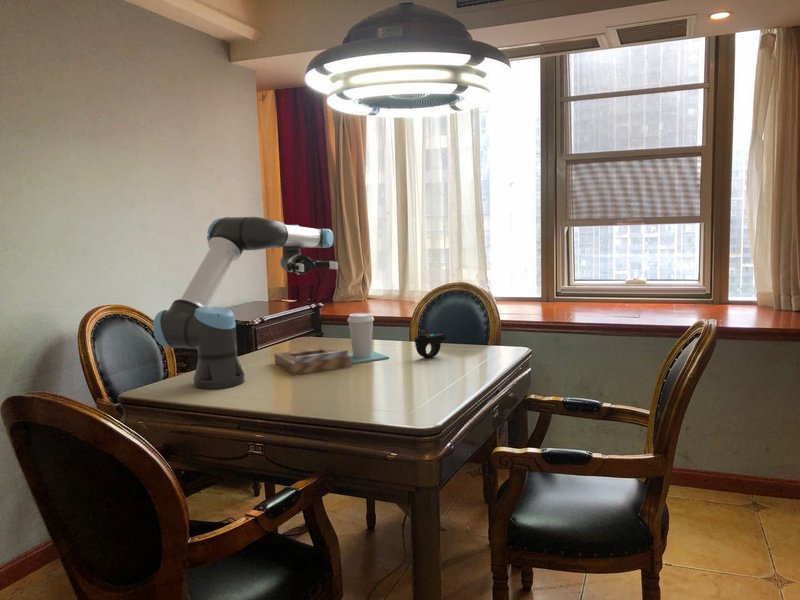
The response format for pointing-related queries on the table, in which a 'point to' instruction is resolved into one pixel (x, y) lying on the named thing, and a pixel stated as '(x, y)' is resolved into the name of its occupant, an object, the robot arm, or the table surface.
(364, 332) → the coffee cup
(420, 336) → the controller
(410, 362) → the table surface
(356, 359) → the pad
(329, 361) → the cup holder
